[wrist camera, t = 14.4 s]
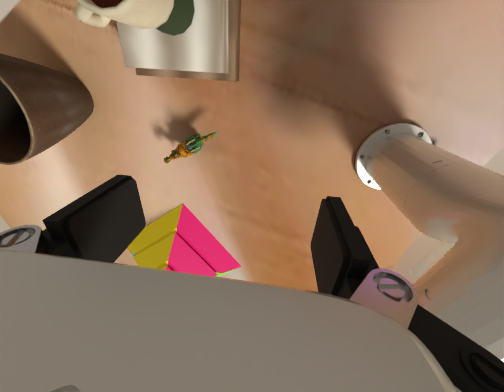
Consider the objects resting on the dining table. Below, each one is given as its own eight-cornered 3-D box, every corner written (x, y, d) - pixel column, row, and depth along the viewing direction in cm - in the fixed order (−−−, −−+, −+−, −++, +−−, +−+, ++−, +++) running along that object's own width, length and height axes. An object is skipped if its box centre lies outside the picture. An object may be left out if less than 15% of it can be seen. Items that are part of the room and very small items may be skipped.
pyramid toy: (122, 238, 60) (80, 280, 47) (184, 198, 51) (153, 237, 38) (182, 291, 68) (161, 338, 56) (244, 265, 59) (235, 314, 47)
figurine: (170, 146, 44) (149, 160, 37) (218, 119, 40) (205, 128, 33) (179, 159, 45) (161, 175, 38) (227, 133, 41) (216, 145, 34)
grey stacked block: (241, -54, 29) (229, -96, 22) (238, 80, 37) (229, 81, 30) (129, -56, 30) (83, -96, 23) (149, 75, 38) (120, 74, 31)
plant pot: (128, 120, 42) (55, 141, 28) (78, 148, 47) (-6, 178, 33) (72, 36, 36) (-57, 10, 22) (21, 77, 41) (-114, 78, 27)
